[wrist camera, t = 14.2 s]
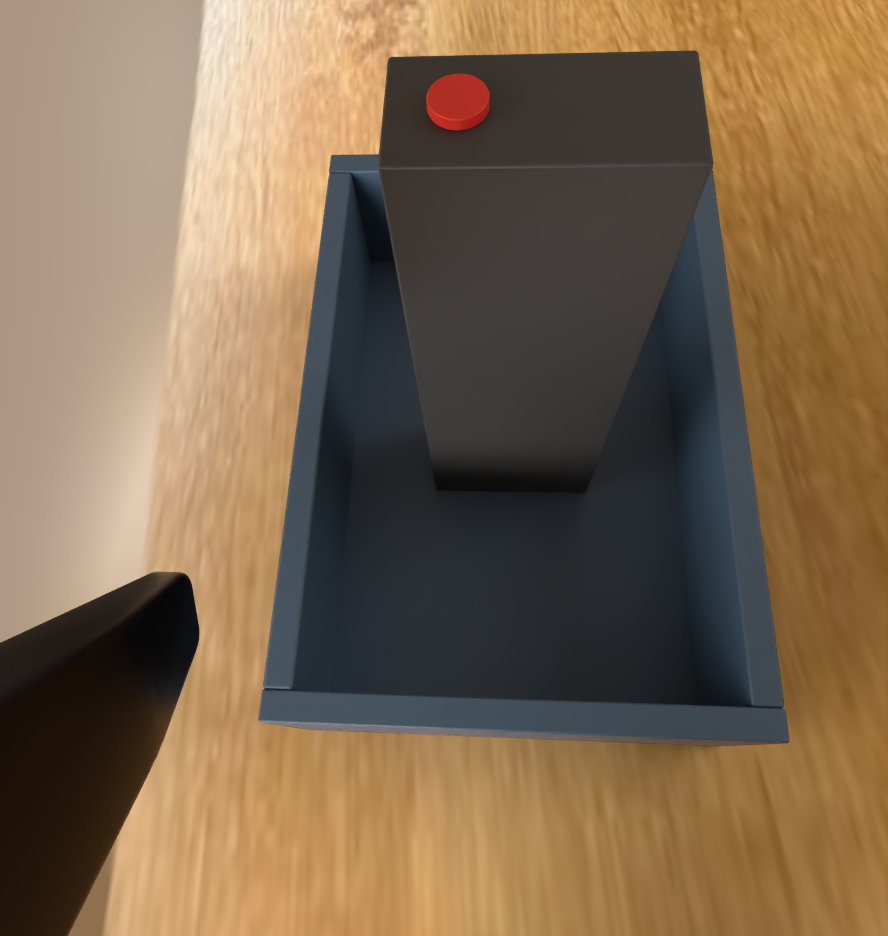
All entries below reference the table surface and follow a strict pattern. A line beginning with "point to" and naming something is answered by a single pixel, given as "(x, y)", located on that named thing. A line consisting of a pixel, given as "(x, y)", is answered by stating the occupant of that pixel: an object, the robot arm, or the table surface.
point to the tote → (520, 535)
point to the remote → (535, 246)
